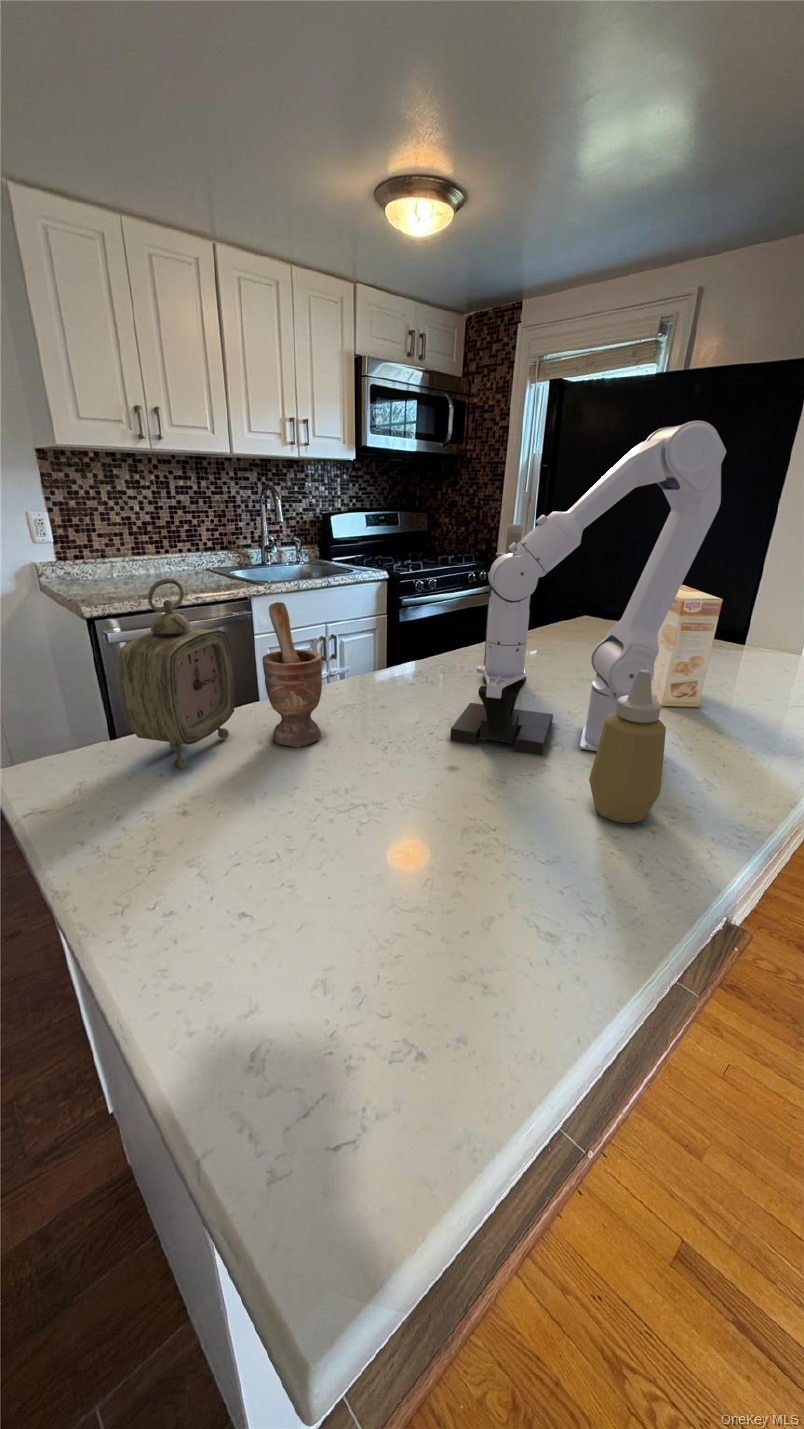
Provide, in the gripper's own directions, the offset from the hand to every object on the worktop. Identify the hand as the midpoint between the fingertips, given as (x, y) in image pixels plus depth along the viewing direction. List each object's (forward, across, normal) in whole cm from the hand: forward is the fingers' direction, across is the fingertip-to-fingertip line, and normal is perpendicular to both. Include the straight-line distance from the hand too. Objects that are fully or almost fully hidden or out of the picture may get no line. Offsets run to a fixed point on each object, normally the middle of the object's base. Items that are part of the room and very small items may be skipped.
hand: (499, 726), depth 87 cm
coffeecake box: (+3, -33, +25) cm, 42 cm away
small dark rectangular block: (+1, 0, 0) cm, 1 cm away
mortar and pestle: (+2, +10, -31) cm, 33 cm away
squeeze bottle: (+3, +15, +18) cm, 23 cm away
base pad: (+2, -3, 0) cm, 4 cm away
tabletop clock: (+2, +21, -42) cm, 47 cm away
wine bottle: (+3, -28, -5) cm, 29 cm away
